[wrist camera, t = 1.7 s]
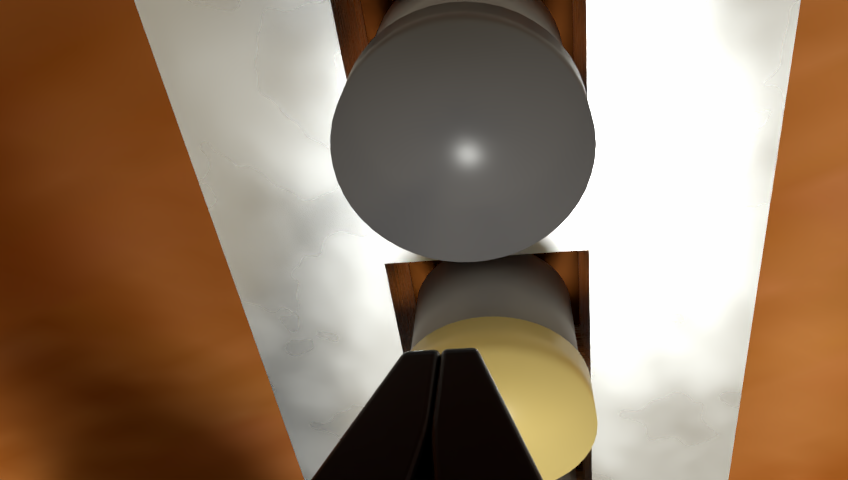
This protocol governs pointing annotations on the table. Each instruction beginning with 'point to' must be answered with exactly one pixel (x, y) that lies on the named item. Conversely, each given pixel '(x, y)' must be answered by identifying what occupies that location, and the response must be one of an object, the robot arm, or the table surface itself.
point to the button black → (464, 129)
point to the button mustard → (517, 348)
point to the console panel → (582, 231)
